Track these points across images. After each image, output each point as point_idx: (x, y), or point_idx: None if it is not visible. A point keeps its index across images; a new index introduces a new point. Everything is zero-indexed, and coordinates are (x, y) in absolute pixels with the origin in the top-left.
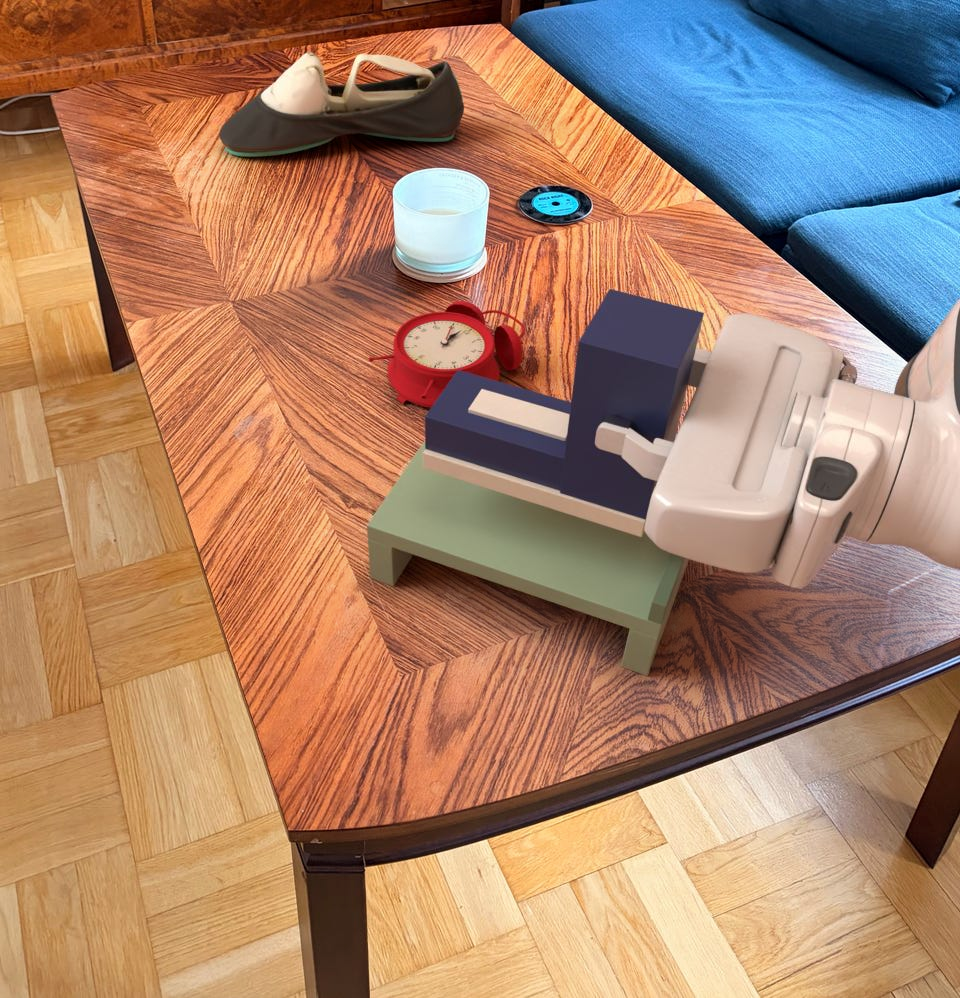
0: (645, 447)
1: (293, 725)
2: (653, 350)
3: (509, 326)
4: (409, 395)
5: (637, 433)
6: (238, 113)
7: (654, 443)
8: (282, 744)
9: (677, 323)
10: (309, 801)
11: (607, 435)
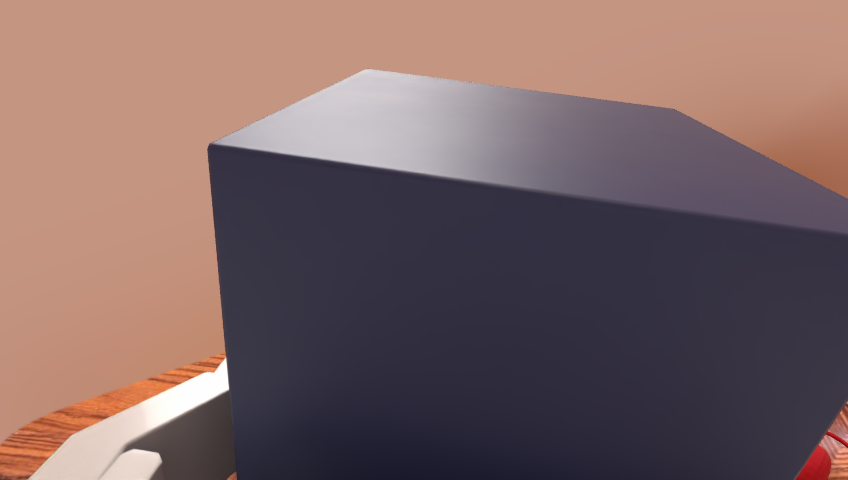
0: (106, 424)
1: (137, 402)
2: (368, 118)
3: (826, 454)
4: None
5: (207, 398)
6: None
7: (121, 451)
8: (114, 399)
9: (660, 169)
10: (26, 436)
11: None
